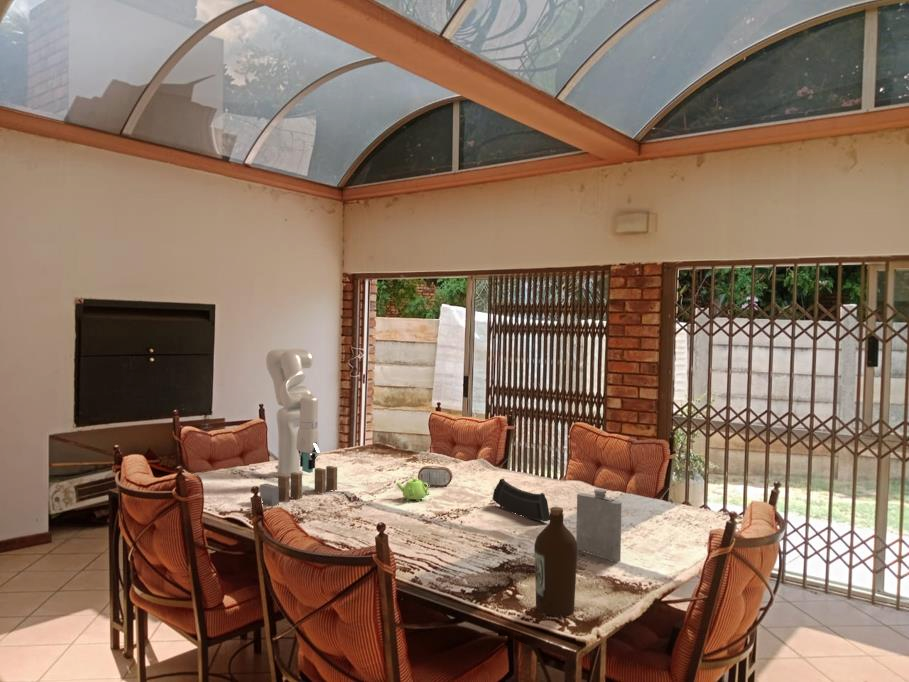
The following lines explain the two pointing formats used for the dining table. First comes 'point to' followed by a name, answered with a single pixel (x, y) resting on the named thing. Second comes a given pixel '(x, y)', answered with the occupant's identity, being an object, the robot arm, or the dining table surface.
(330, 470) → the domino
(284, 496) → the domino
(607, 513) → the hip flask
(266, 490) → the block
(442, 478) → the tin
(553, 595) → the olive oil
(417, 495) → the teapot
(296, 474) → the domino
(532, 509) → the magazine
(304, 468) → the domino
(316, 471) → the domino
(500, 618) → the dining table surface
